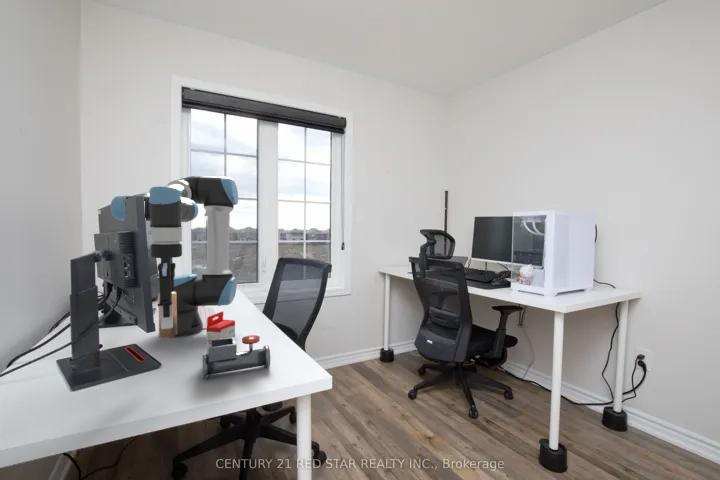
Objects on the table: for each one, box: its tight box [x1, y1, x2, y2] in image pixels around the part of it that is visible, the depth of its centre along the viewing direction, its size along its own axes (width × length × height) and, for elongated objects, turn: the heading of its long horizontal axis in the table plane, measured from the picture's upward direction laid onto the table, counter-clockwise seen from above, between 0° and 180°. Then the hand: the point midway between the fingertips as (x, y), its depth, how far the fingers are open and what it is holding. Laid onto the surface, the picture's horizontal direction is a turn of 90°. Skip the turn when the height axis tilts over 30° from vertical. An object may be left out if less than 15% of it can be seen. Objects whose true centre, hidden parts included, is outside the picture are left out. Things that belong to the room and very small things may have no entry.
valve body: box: [202, 334, 271, 380], centre depth 95 cm, size 18×7×10 cm, turn 116°
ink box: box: [206, 311, 236, 357], centre depth 105 cm, size 8×5×15 cm, turn 168°
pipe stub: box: [157, 291, 177, 338], centre depth 90 cm, size 4×4×12 cm
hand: (168, 325), depth 90 cm, fingers closed on pipe stub, 4 cm apart
